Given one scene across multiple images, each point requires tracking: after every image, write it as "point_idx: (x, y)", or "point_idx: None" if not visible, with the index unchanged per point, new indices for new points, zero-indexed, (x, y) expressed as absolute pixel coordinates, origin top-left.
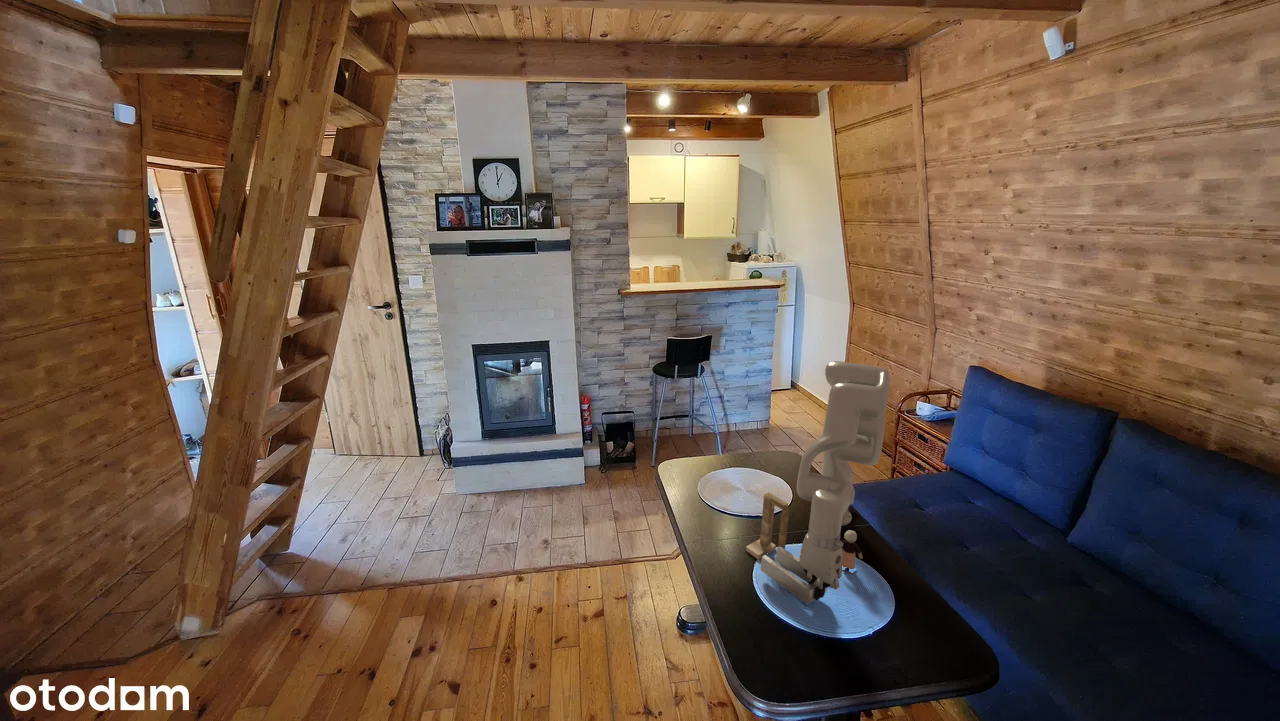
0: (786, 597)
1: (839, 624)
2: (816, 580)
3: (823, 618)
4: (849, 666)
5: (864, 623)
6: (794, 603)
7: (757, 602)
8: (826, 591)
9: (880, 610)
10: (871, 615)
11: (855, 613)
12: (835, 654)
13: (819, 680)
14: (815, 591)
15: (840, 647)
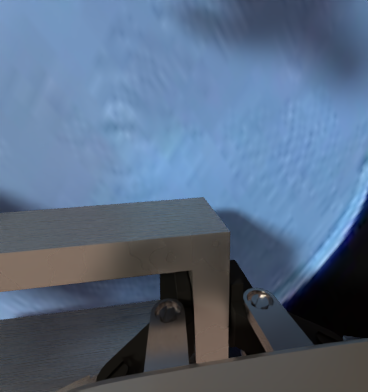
0: (114, 299)
1: (290, 240)
2: (196, 313)
3: (245, 263)
4: (364, 317)
5: (343, 166)
6: (150, 295)
7: None
8: (203, 197)
9: (365, 46)
10: (348, 108)
11: (304, 153)
12: (327, 321)
13: None
14: None
15: (327, 297)
